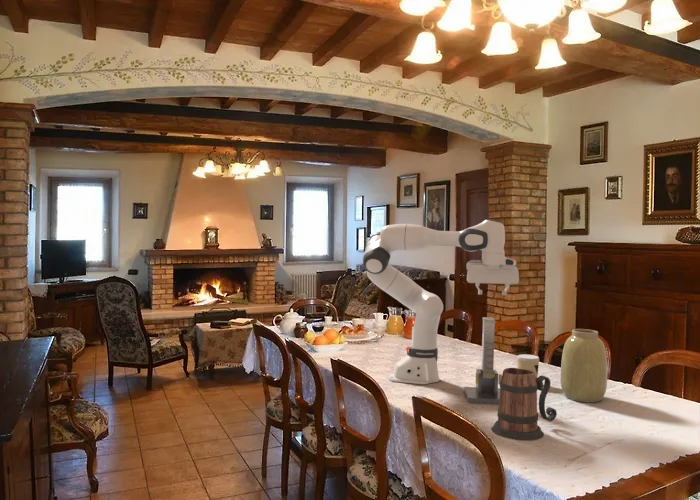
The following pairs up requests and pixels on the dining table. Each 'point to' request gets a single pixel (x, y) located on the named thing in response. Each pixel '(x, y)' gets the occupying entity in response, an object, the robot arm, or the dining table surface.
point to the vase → (584, 366)
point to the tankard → (521, 405)
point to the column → (488, 345)
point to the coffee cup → (528, 363)
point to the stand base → (484, 389)
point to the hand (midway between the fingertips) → (492, 294)
